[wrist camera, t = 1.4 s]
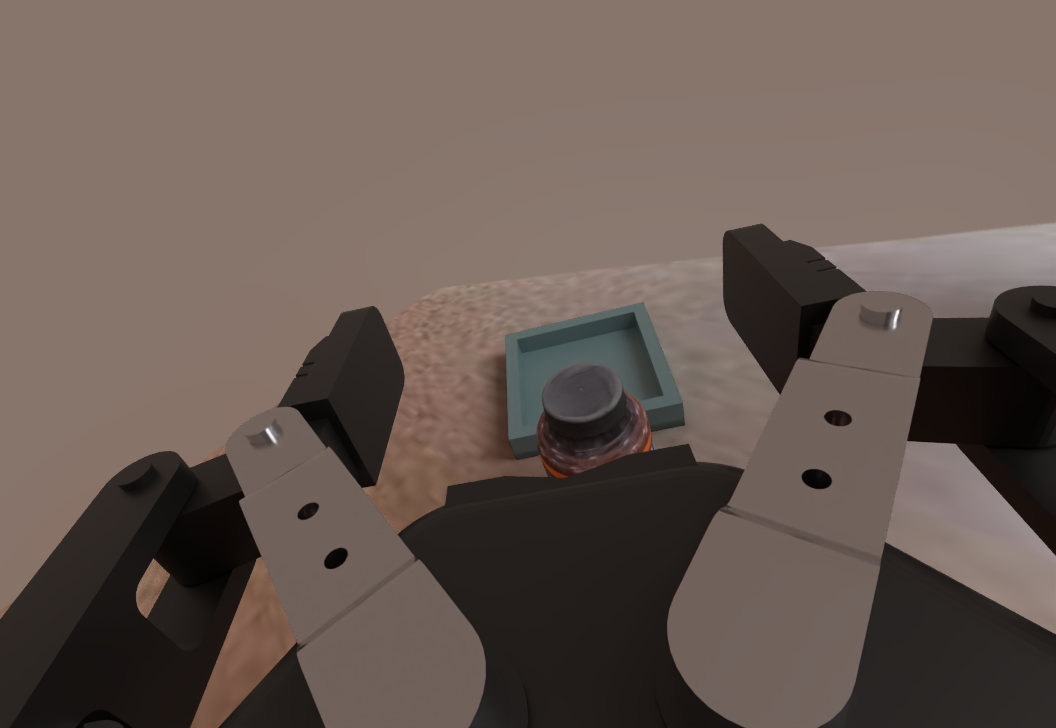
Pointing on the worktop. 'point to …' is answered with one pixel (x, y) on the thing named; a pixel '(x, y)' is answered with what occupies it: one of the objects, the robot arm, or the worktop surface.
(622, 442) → the supplement bottle
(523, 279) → the worktop surface
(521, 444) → the tray
